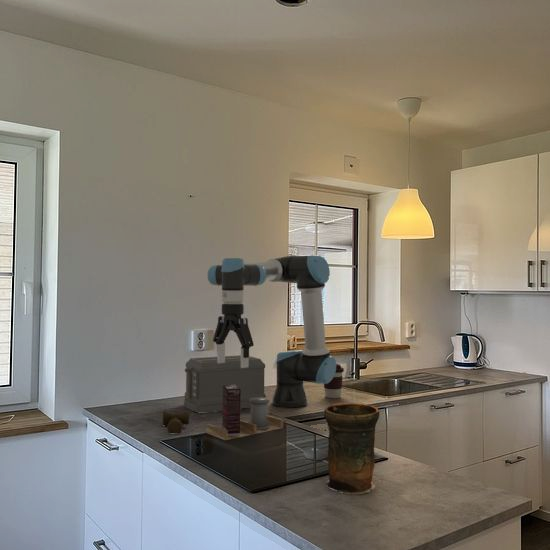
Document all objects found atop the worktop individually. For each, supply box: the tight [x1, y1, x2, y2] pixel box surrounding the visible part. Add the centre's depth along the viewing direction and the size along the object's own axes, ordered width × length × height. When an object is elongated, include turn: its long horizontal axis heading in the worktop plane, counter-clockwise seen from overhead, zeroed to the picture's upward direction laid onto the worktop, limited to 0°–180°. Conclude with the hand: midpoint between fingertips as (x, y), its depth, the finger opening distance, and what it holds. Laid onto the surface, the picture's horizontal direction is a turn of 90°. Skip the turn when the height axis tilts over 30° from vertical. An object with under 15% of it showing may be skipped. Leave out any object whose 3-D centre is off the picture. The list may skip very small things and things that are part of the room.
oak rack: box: [206, 414, 284, 441], centre depth 195 cm, size 25×11×4 cm, turn 130°
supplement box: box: [221, 385, 241, 436], centre depth 191 cm, size 9×5×16 cm, turn 16°
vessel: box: [323, 402, 380, 496], centre depth 145 cm, size 14×14×20 cm
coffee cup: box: [323, 363, 345, 399], centre depth 260 cm, size 10×10×15 cm
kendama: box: [162, 409, 190, 434], centre depth 202 cm, size 6×10×20 cm
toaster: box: [183, 354, 267, 413], centre depth 239 cm, size 19×34×20 cm, turn 118°
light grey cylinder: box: [249, 397, 270, 430], centre depth 199 cm, size 7×7×10 cm
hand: (232, 365), depth 192 cm, fingers open, 13 cm apart
